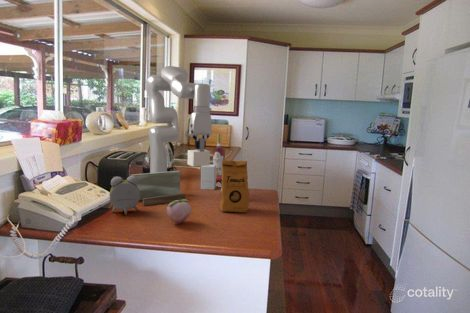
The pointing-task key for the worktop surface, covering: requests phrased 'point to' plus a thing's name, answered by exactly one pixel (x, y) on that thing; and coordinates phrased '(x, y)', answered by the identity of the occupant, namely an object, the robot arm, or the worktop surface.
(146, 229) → the worktop surface
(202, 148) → the white block gray post
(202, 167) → the supplement box
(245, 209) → the coffee package
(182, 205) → the decorative fruit
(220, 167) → the liquor
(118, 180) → the alarm clock
